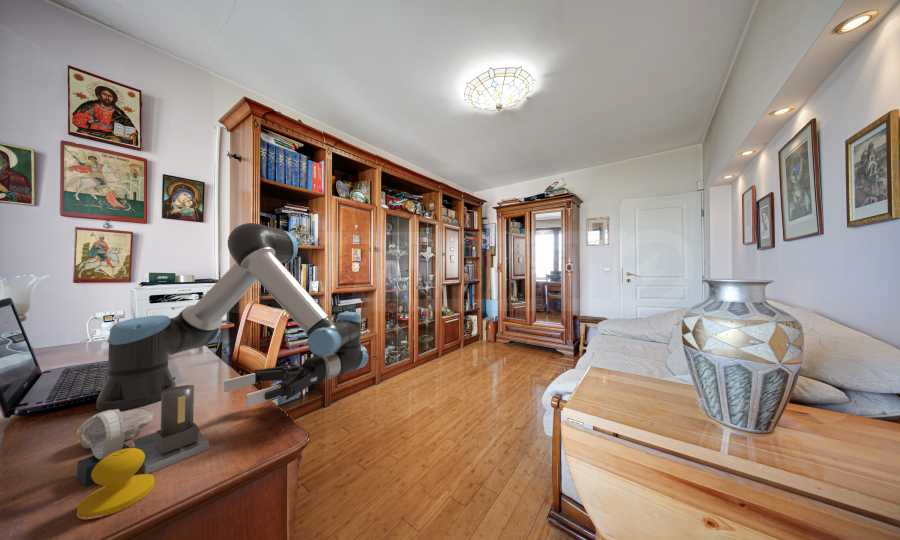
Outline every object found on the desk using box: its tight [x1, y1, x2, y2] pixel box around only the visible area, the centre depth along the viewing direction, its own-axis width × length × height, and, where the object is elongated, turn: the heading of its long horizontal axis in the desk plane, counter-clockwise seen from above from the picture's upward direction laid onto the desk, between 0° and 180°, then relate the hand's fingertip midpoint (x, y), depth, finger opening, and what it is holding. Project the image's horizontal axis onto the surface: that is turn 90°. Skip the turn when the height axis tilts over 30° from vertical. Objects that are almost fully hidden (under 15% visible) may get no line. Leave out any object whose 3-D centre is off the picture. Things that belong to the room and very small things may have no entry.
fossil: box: [79, 408, 155, 449], centre depth 60 cm, size 9×6×10 cm
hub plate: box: [131, 429, 210, 474], centre depth 57 cm, size 14×9×4 cm, turn 56°
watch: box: [76, 409, 131, 487], centre depth 50 cm, size 6×8×11 cm
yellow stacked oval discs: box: [76, 447, 156, 518], centre depth 44 cm, size 8×8×8 cm
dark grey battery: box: [155, 384, 199, 454], centre depth 56 cm, size 6×5×11 cm
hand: (234, 393), depth 64 cm, fingers open, 13 cm apart
